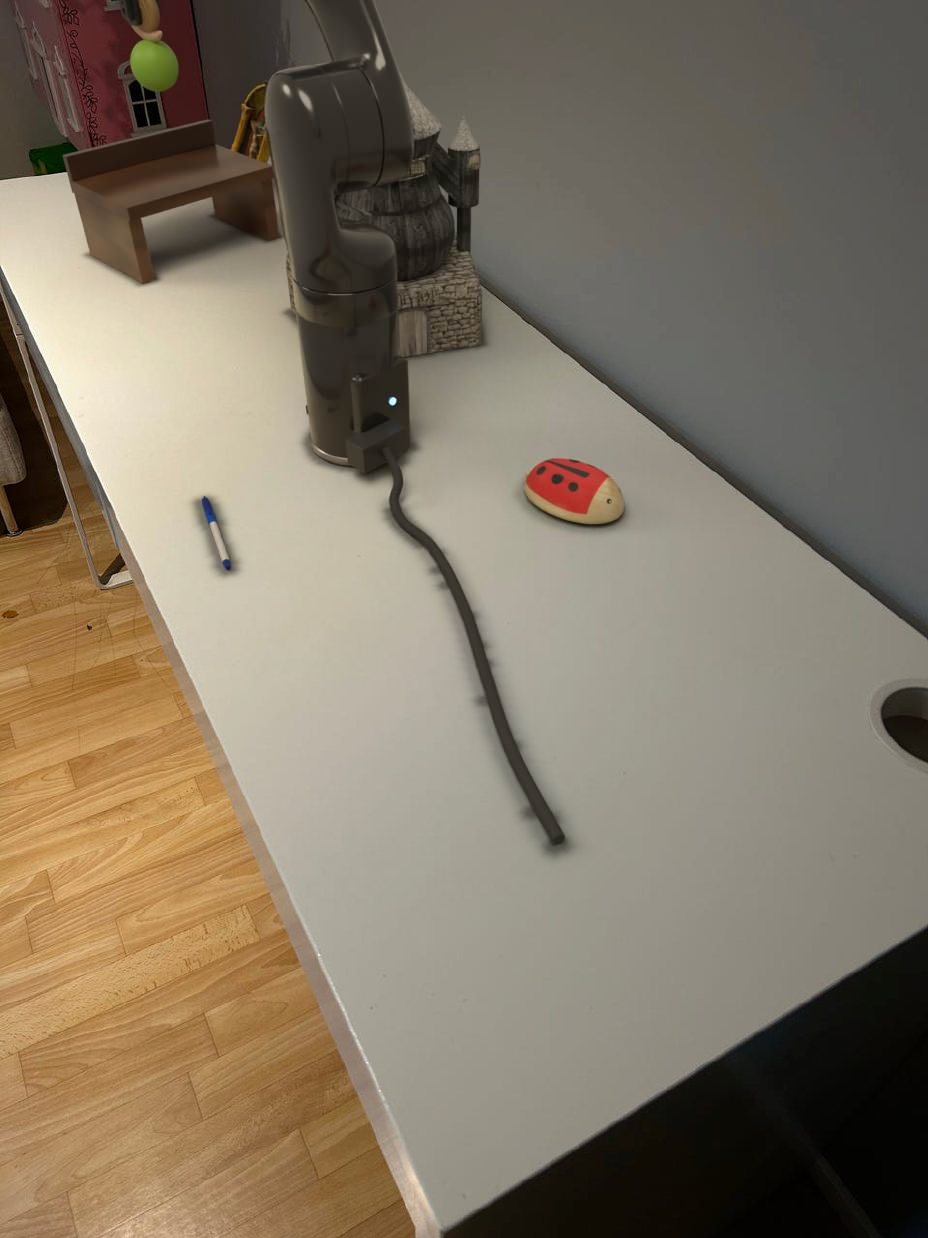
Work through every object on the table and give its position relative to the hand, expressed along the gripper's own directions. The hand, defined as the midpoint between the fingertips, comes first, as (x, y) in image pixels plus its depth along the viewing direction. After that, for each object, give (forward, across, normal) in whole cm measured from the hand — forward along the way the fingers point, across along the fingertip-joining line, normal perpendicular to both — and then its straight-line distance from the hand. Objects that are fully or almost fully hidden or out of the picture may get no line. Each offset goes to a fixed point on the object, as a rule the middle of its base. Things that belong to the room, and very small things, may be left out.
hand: (143, 22), depth 108 cm
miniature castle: (+27, +6, -35) cm, 45 cm away
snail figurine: (+7, 0, 0) cm, 7 cm away
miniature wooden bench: (+27, +2, +3) cm, 27 cm away
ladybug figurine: (+27, -8, -73) cm, 78 cm away
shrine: (+27, +22, +15) cm, 38 cm away
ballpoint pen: (+27, -33, -53) cm, 68 cm away
